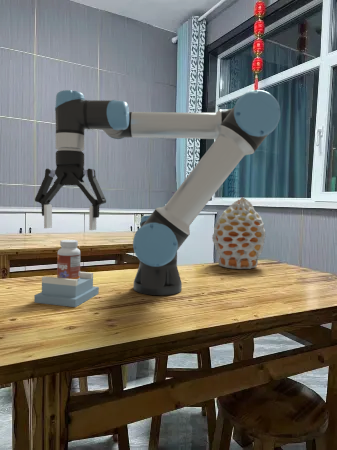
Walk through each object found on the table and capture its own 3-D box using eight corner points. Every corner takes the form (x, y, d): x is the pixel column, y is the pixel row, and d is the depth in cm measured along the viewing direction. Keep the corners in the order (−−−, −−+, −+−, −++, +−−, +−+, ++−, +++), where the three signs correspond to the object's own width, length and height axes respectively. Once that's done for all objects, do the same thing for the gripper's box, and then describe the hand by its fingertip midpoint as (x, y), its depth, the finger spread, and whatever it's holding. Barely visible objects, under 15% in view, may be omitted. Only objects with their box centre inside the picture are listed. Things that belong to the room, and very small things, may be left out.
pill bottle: (52, 279, 101) (52, 240, 101) (71, 276, 106) (71, 238, 105) (65, 283, 98) (65, 242, 97) (84, 280, 102) (85, 241, 101)
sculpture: (253, 274, 142) (257, 197, 140) (202, 267, 154) (205, 195, 152) (269, 266, 160) (273, 198, 158) (223, 260, 172) (226, 196, 170)
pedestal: (98, 293, 107) (98, 271, 107) (75, 307, 94) (76, 282, 93) (61, 289, 110) (62, 268, 110) (34, 302, 97) (34, 278, 96)
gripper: (118, 152, 100) (117, 229, 101) (37, 153, 106) (37, 226, 107) (107, 148, 92) (106, 231, 94) (21, 149, 98) (21, 228, 100)
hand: (70, 229), depth 101 cm, fingers open, 13 cm apart
